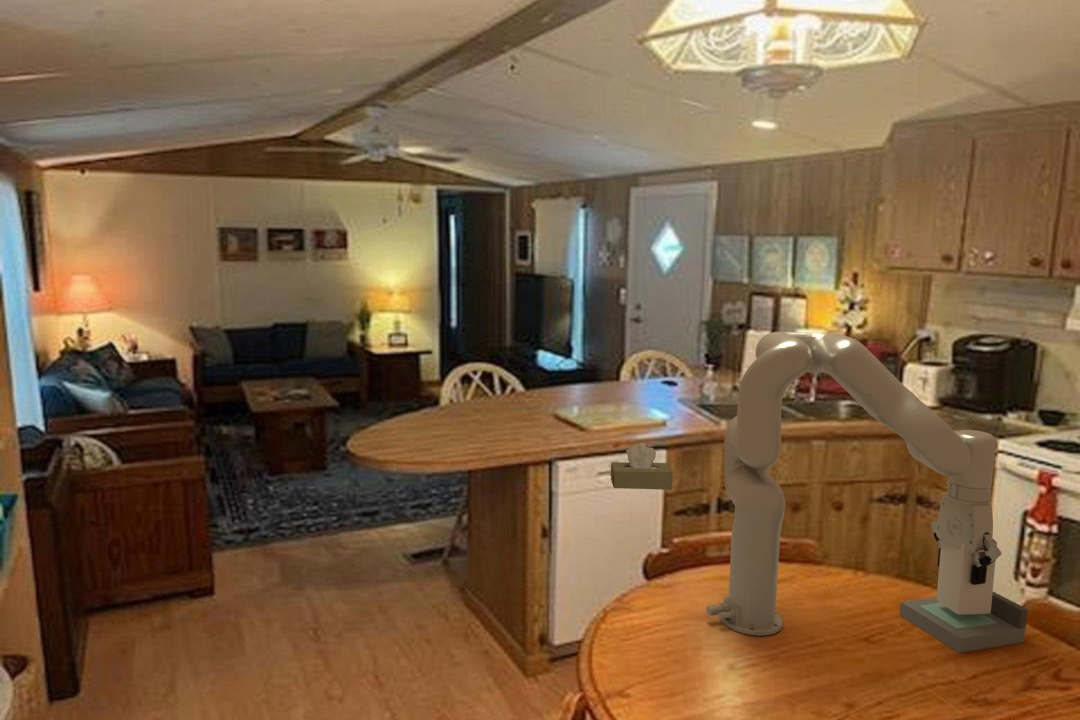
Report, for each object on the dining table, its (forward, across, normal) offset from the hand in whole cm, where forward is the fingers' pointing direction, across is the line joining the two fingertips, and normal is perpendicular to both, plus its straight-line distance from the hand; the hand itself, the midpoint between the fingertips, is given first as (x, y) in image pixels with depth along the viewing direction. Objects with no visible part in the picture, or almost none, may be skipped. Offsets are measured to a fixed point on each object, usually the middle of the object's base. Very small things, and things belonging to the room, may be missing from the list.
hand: (960, 574), depth 157 cm
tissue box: (+12, -100, -26) cm, 104 cm away
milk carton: (+7, 0, +1) cm, 7 cm away
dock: (+12, 0, +1) cm, 12 cm away
